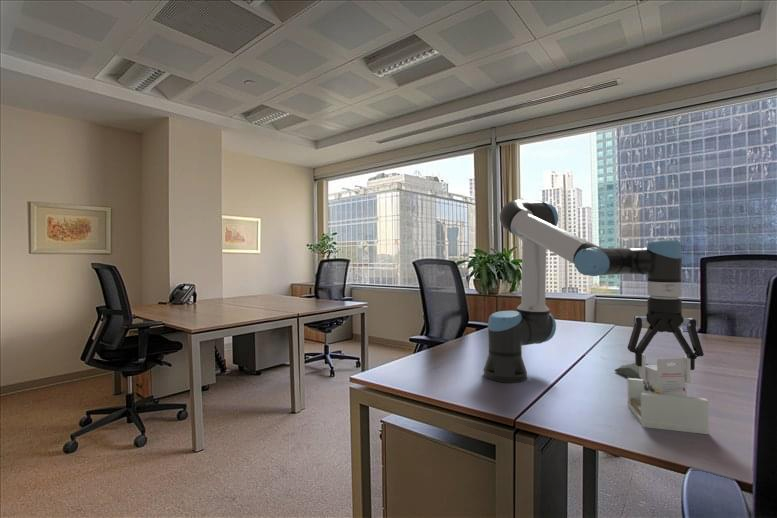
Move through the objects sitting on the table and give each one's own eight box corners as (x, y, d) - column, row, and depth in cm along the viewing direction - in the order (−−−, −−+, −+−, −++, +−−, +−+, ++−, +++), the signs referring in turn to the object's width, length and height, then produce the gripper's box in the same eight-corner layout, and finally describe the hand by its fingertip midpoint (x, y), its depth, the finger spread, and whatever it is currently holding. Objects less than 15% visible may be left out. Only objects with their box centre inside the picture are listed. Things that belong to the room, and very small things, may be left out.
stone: (609, 363, 146) (643, 357, 148) (611, 376, 145) (646, 370, 148) (648, 373, 128) (687, 366, 130) (651, 388, 127) (690, 381, 130)
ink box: (669, 405, 107) (671, 353, 107) (685, 413, 102) (687, 358, 102) (641, 406, 106) (643, 353, 106) (655, 414, 101) (657, 359, 101)
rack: (643, 427, 99) (643, 395, 99) (627, 404, 113) (627, 377, 113) (709, 434, 95) (709, 401, 94) (683, 410, 109) (683, 381, 109)
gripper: (621, 297, 103) (621, 380, 104) (721, 300, 96) (721, 388, 97) (614, 294, 110) (614, 372, 111) (707, 296, 103) (707, 379, 104)
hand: (664, 379), depth 104 cm, fingers closed on ink box, 9 cm apart
